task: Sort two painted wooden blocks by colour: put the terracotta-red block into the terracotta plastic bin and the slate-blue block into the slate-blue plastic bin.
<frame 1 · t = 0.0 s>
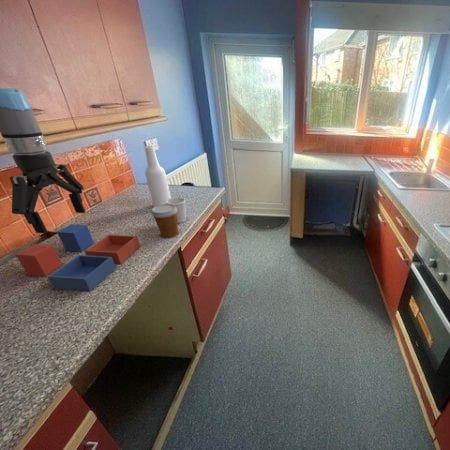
hand: (63, 221, 77), 17 cm above the countertop, tool pointing down, fingers open, 13 cm apart
red bin: (116, 253, 92), on the countertop
white bottle: (163, 205, 131), on the countertop
blue bin: (87, 277, 80), on the countertop
dixie cup: (179, 220, 117), on the countertop
disposable coffee cup: (170, 234, 106), on the countertop
red block: (45, 269, 82), on the countertop
blue block: (80, 246, 95), on the countertop
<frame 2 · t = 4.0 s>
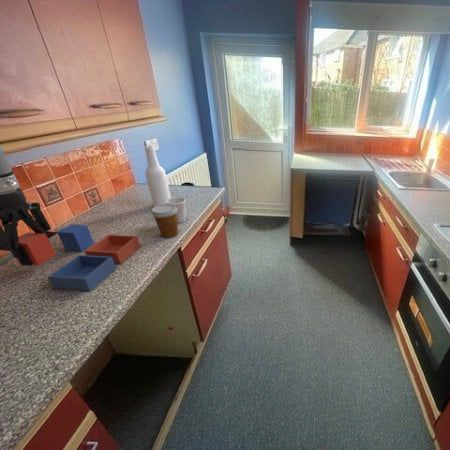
hand: (38, 258, 80), 5 cm above the countertop, tool pointing down, fingers closed on red block, 6 cm apart
red block: (38, 259, 80), point 4 cm above the countertop, touching gripper
everything else where it was.
when the fingers open (1 cm above the countertop, at t = 10.0 s): red block stays where it is, resting on red bin.
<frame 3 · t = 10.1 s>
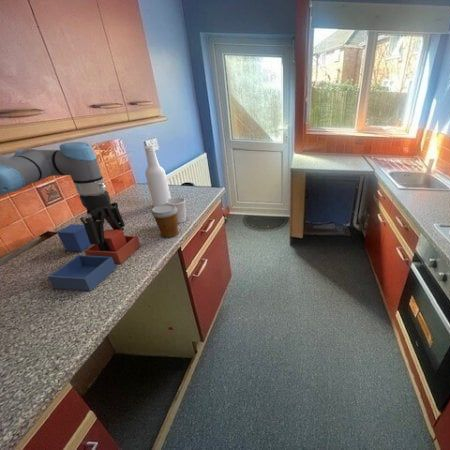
hand: (115, 251, 91), 1 cm above the countertop, tool pointing down, fingers open, 6 cm apart
red block: (115, 252, 91), point 1 cm above the countertop, touching red bin
everything else where it was.
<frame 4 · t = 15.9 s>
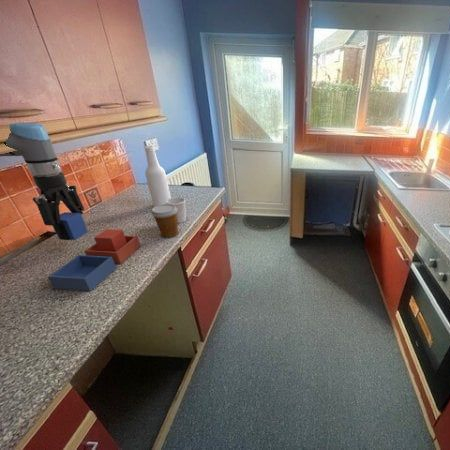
hand: (73, 234, 92), 5 cm above the countertop, tool pointing down, fingers closed on blue block, 6 cm apart
blue block: (73, 235, 92), point 5 cm above the countertop, touching gripper
everything else where it was.
when the fingers open (5 cm above the countertop, at t = 23.1 s): blue block stays where it is, resting on blue bin.
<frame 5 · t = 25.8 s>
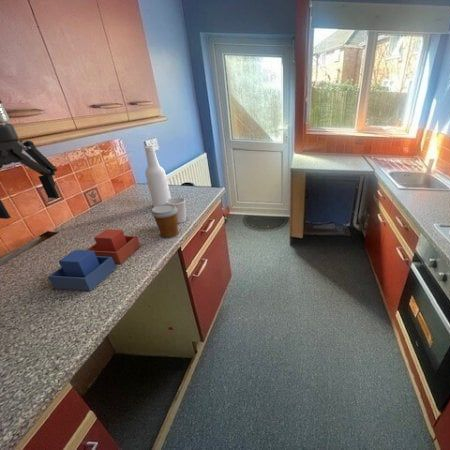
hand: (31, 207, 68), 25 cm above the countertop, tool pointing down, fingers open, 13 cm apart
blue block: (86, 276, 80), point 1 cm above the countertop, touching blue bin
everything else where it was.
at the end: red block inside the target area in the red bin (0.0 cm from its centre), point 0.6 cm above the red bin's base; blue block inside the target area in the blue bin (0.0 cm from its centre), point 0.6 cm above the blue bin's base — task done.
